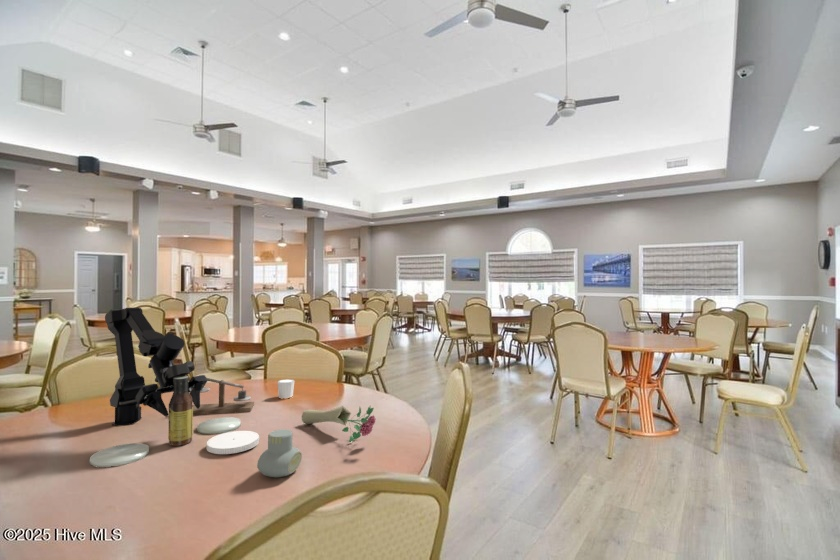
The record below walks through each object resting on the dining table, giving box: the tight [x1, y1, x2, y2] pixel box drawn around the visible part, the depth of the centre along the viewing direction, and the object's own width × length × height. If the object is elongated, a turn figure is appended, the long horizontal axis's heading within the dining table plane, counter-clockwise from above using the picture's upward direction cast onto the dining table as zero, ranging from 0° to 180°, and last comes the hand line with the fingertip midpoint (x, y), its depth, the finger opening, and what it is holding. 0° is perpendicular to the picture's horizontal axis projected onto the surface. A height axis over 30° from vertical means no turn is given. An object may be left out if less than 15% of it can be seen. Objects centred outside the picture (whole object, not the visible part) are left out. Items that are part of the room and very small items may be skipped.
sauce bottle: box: [167, 375, 194, 447], centre depth 121 cm, size 7×6×20 cm
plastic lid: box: [206, 430, 260, 455], centre depth 119 cm, size 14×14×2 cm
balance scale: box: [192, 377, 255, 416], centre depth 153 cm, size 22×8×13 cm, turn 103°
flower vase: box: [301, 405, 376, 443], centre depth 128 cm, size 12×12×35 cm
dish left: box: [89, 442, 150, 468], centre depth 111 cm, size 13×13×1 cm
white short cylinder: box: [277, 378, 295, 398], centre depth 172 cm, size 7×7×7 cm
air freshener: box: [256, 428, 303, 478], centre depth 103 cm, size 11×8×10 cm
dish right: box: [196, 416, 242, 435], centre depth 135 cm, size 13×13×1 cm
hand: (183, 411), depth 120 cm, fingers open, 9 cm apart
